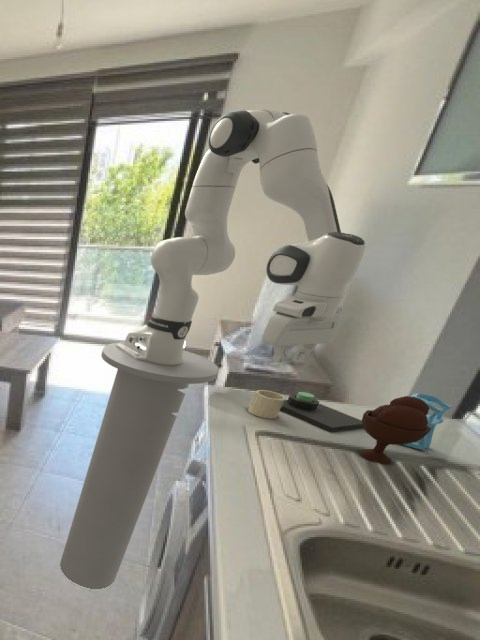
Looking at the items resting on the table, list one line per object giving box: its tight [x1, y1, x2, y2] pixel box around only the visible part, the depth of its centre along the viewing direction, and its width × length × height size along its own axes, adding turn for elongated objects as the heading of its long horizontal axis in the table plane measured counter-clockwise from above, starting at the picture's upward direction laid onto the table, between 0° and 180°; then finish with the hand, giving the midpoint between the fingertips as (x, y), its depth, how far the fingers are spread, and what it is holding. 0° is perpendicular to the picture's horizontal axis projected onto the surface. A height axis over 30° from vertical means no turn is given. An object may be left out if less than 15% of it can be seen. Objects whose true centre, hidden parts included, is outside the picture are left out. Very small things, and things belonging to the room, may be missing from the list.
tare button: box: [296, 391, 315, 402], centre depth 132 cm, size 4×4×2 cm
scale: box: [280, 393, 364, 433], centre depth 129 cm, size 16×13×3 cm
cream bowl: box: [247, 389, 287, 420], centre depth 128 cm, size 6×6×6 cm
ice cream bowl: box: [358, 395, 432, 465], centre depth 106 cm, size 11×11×15 cm
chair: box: [402, 393, 453, 451], centre depth 115 cm, size 8×8×12 cm
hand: (288, 360), depth 122 cm, fingers open, 6 cm apart
